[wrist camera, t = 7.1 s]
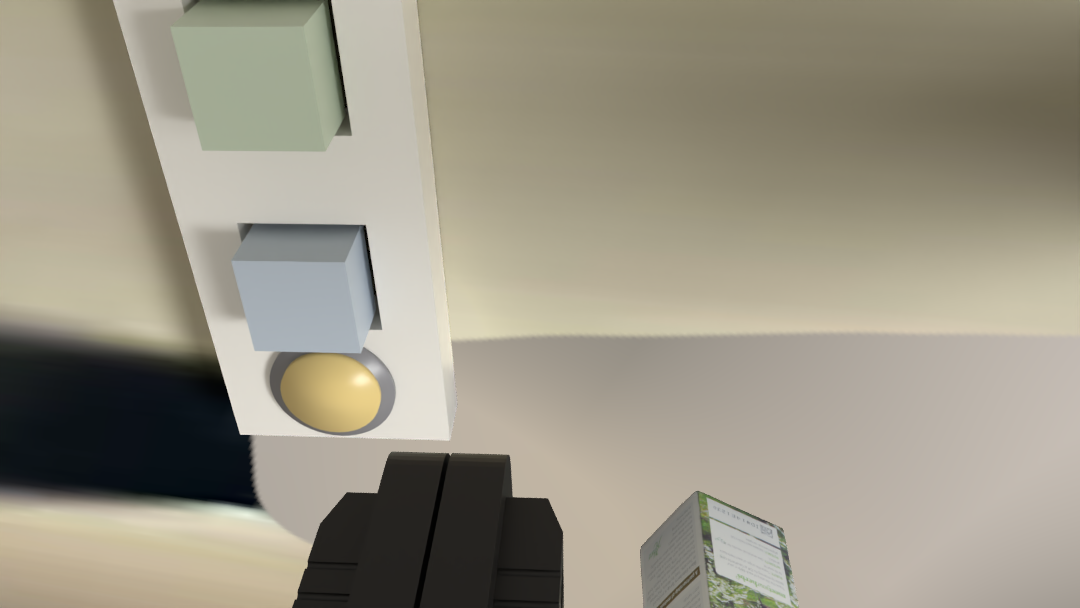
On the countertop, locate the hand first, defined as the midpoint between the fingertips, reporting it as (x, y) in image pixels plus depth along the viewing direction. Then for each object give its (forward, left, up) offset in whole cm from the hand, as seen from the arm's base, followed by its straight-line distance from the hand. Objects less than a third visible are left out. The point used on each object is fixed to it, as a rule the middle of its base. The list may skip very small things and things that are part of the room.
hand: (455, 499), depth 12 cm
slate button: (+10, +12, -23) cm, 28 cm away
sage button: (+10, +3, -23) cm, 26 cm away
